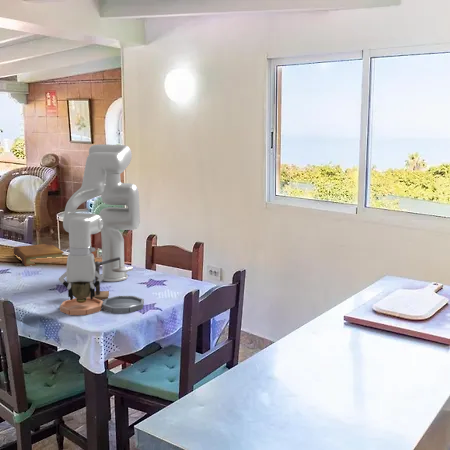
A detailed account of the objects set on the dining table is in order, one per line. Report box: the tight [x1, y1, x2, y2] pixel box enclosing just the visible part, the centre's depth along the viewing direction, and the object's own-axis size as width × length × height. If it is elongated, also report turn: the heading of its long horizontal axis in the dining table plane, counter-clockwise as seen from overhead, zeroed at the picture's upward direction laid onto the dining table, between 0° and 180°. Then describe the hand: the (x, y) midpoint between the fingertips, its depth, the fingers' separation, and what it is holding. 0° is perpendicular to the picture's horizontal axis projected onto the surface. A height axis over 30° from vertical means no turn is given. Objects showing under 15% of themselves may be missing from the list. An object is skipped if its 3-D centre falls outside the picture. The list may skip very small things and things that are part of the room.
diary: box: [13, 242, 65, 267], centre depth 269 cm, size 23×19×6 cm
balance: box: [66, 257, 129, 301], centre depth 208 cm, size 23×8×16 cm, turn 99°
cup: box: [71, 282, 91, 303], centre depth 195 cm, size 8×7×8 cm
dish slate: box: [101, 295, 145, 314], centre depth 199 cm, size 15×15×2 cm
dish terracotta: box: [59, 297, 104, 316], centre depth 196 cm, size 15×15×2 cm
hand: (81, 298), depth 196 cm, fingers closed on cup, 6 cm apart
